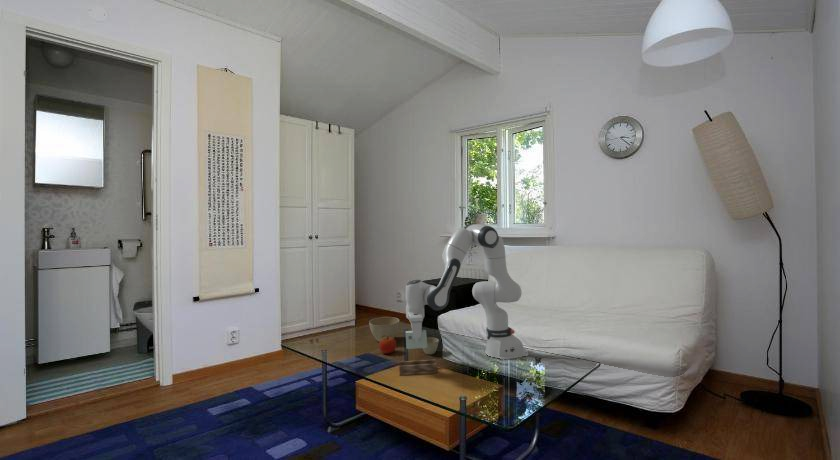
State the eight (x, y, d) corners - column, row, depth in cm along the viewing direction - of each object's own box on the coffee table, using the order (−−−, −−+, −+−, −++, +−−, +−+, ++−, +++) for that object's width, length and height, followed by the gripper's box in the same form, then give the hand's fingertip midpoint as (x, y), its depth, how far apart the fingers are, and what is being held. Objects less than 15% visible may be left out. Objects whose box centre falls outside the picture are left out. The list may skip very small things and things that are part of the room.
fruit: (399, 353, 243) (398, 335, 242) (382, 356, 240) (381, 338, 239) (393, 348, 252) (392, 331, 251) (377, 351, 249) (376, 333, 248)
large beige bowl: (366, 339, 271) (365, 319, 270) (393, 334, 279) (392, 315, 278) (376, 347, 255) (374, 327, 254) (404, 342, 262) (403, 322, 261)
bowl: (437, 356, 236) (437, 343, 236) (419, 356, 238) (418, 343, 238) (440, 350, 246) (439, 337, 246) (422, 349, 248) (422, 337, 248)
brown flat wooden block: (435, 366, 222) (434, 358, 222) (436, 372, 214) (436, 364, 214) (399, 368, 221) (399, 360, 221) (399, 375, 213) (399, 367, 213)
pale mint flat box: (426, 345, 219) (425, 329, 218) (427, 347, 215) (426, 331, 215) (406, 347, 218) (405, 331, 218) (406, 349, 215) (405, 332, 214)
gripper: (408, 308, 226) (409, 335, 227) (409, 319, 205) (410, 348, 206) (420, 308, 226) (421, 334, 227) (423, 318, 206) (424, 347, 207)
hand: (416, 341), depth 217 cm, fingers closed on pale mint flat box, 3 cm apart
